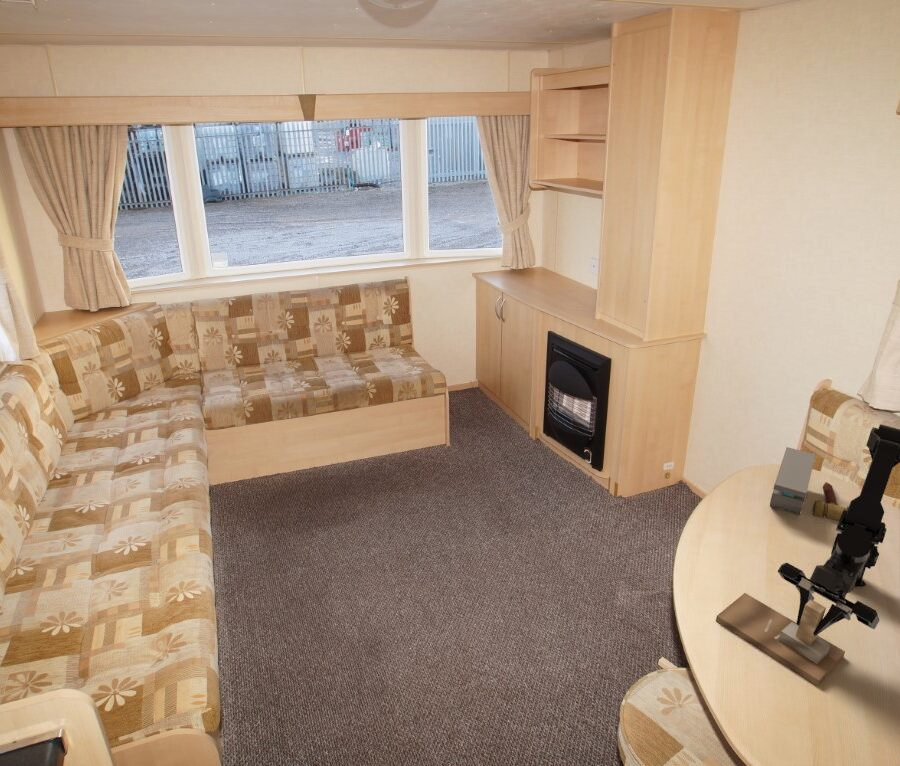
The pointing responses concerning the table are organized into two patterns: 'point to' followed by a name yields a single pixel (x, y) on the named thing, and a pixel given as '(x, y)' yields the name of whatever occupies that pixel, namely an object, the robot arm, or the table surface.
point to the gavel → (828, 505)
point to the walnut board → (774, 637)
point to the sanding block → (807, 633)
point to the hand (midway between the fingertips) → (805, 629)
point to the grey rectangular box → (792, 481)
